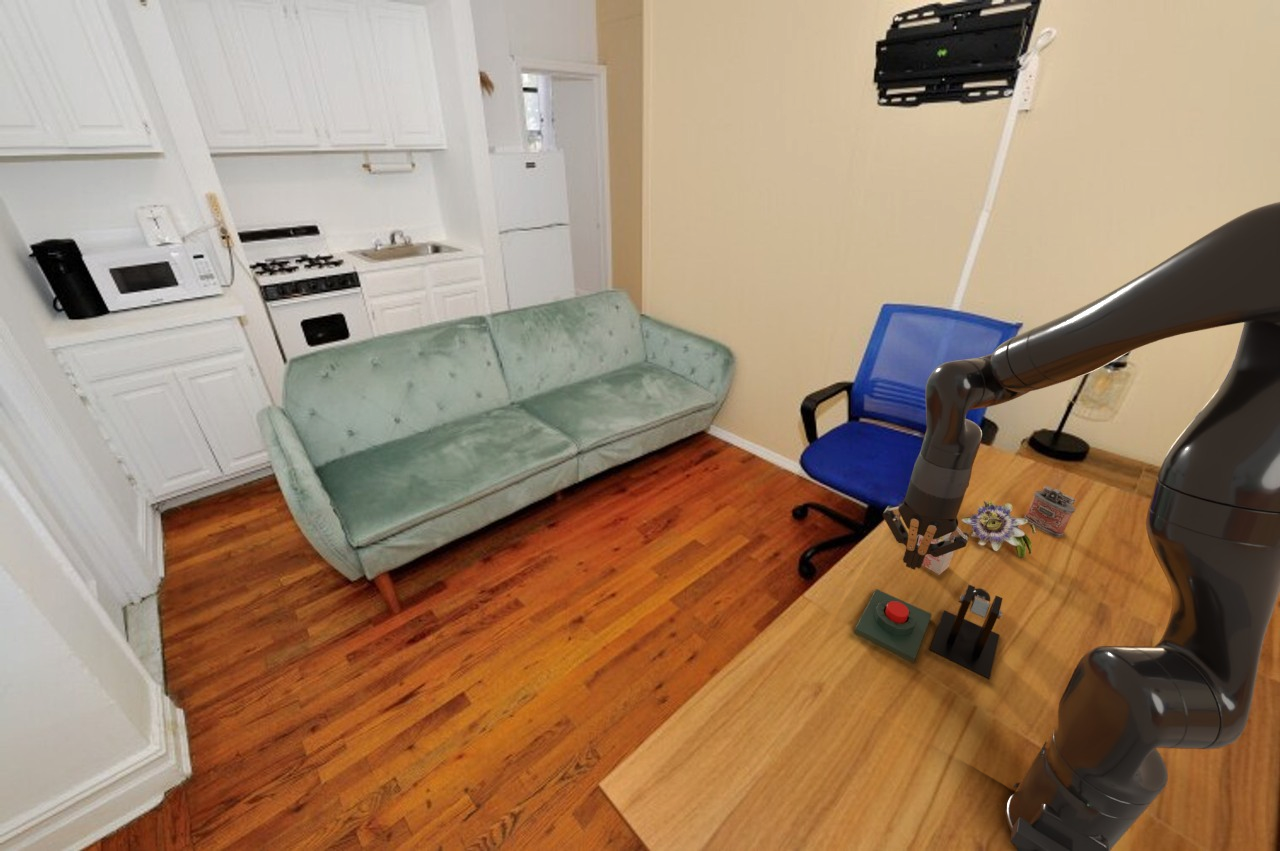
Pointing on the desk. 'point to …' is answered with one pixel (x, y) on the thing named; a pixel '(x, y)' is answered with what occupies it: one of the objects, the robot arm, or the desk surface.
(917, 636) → the button block
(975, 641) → the bracket
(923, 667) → the desk surface
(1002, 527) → the passion flower
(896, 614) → the button
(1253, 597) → the robot arm
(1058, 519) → the lighter
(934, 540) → the tea bag
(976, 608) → the switch
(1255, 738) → the desk surface
